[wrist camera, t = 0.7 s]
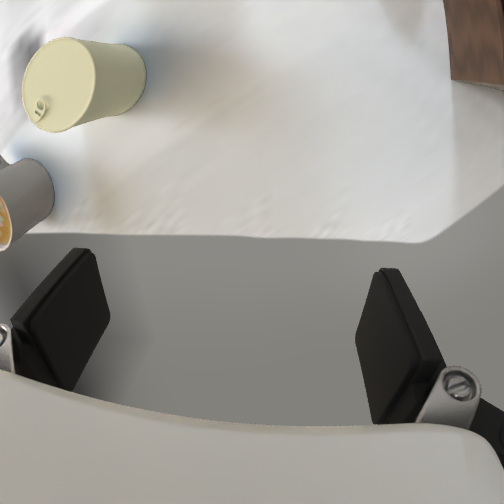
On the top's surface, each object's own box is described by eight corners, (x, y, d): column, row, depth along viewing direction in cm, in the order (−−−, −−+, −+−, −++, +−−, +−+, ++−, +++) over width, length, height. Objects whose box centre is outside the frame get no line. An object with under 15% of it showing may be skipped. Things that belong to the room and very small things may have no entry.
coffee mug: (64, 210, 40) (23, 242, 31) (24, 226, 42) (-13, 257, 33) (32, 126, 34) (-17, 144, 25) (-5, 153, 36) (-49, 174, 27)
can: (69, 90, 32) (6, 102, 21) (109, 31, 28) (50, 20, 18) (116, 130, 34) (59, 154, 24) (161, 71, 31) (113, 68, 20)
